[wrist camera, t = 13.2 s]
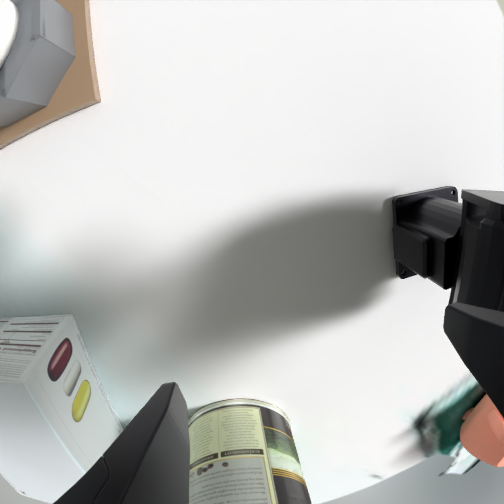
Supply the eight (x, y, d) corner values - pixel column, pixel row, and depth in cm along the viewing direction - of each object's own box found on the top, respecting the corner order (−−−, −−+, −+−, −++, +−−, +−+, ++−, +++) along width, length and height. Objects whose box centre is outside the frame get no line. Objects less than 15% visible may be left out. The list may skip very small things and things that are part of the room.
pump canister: (88, -19, 14) (58, -56, 8) (100, 101, 17) (60, 85, 11) (-20, 43, 13) (-62, 29, 8) (-14, 157, 17) (-64, 163, 11)
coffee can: (309, 407, 26) (355, 535, 13) (264, 465, 29) (285, 572, 16) (202, 385, 24) (201, 539, 11) (173, 449, 27) (167, 568, 13)
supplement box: (137, 447, 27) (125, 519, 18) (42, 438, 26) (18, 495, 17) (76, 310, 21) (22, 385, 13) (-25, 316, 20) (-79, 367, 12)
